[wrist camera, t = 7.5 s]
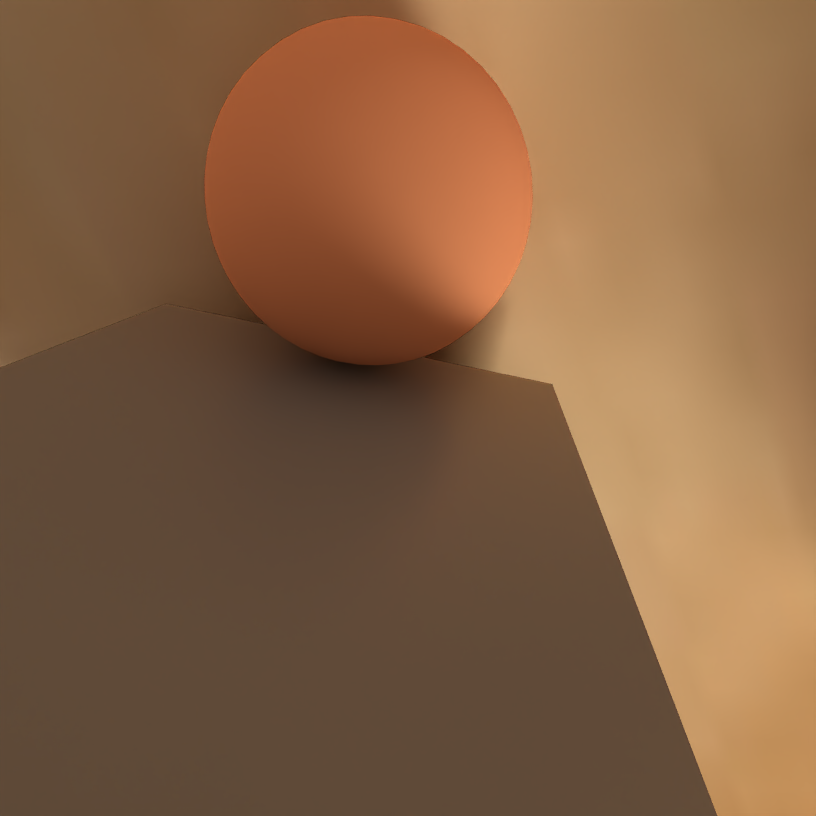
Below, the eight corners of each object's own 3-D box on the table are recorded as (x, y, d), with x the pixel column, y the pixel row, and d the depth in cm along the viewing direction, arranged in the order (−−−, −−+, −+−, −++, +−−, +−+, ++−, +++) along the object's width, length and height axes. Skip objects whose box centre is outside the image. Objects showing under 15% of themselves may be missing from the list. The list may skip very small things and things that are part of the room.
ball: (552, 87, 10) (617, 8, 6) (484, 347, 12) (490, 449, 7) (285, 32, 10) (131, -91, 6) (260, 297, 12) (130, 367, 8)
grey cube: (552, 384, 11) (793, 1011, 3) (464, 674, 14) (449, 1388, 6) (165, 303, 11) (-712, 644, 3) (162, 604, 14) (-274, 1190, 6)
